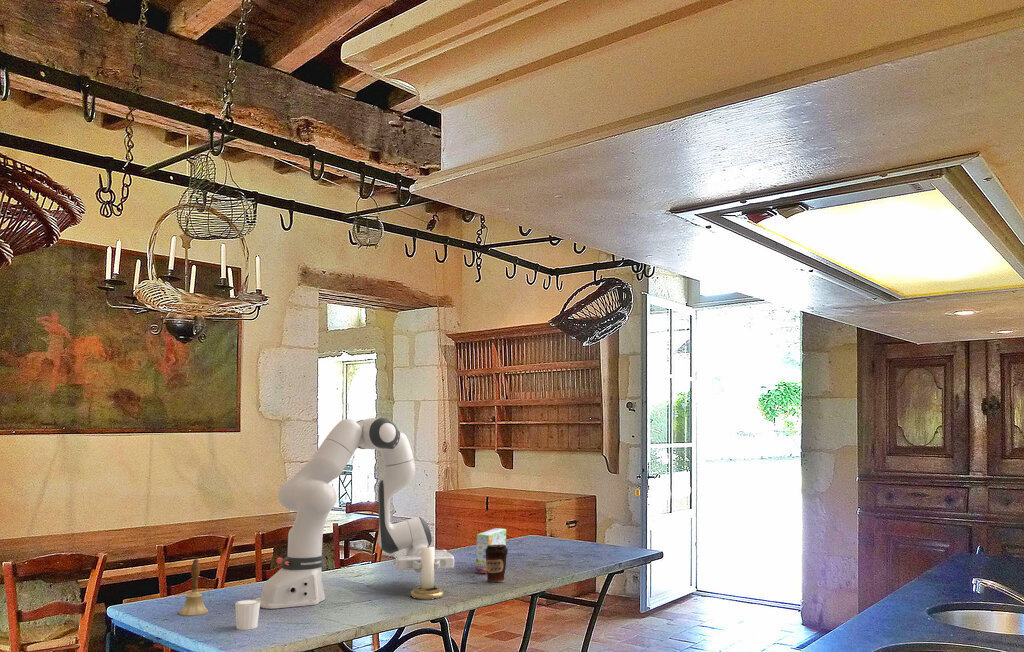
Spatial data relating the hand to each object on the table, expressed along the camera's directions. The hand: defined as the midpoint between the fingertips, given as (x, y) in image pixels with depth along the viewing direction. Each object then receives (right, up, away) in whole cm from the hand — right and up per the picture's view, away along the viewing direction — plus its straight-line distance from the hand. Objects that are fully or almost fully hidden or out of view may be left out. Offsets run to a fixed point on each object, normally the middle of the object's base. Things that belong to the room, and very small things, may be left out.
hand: (428, 566), depth 271 cm
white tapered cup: (-47, -5, -42) cm, 64 cm away
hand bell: (-69, -7, -25) cm, 74 cm away
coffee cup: (+22, -14, +26) cm, 37 cm away
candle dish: (0, -10, 0) cm, 10 cm away
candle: (0, -7, 0) cm, 7 cm away
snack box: (+20, -17, +50) cm, 56 cm away
